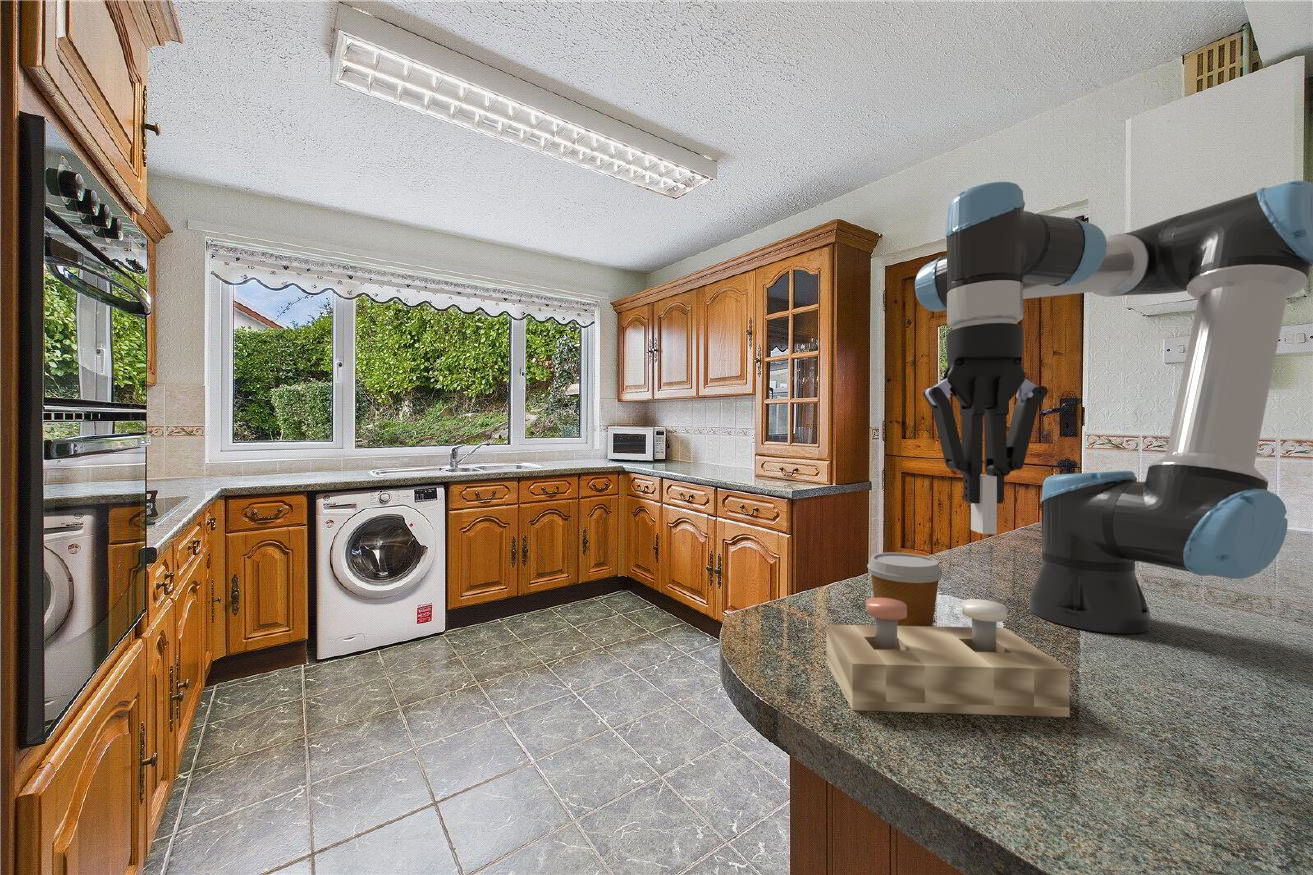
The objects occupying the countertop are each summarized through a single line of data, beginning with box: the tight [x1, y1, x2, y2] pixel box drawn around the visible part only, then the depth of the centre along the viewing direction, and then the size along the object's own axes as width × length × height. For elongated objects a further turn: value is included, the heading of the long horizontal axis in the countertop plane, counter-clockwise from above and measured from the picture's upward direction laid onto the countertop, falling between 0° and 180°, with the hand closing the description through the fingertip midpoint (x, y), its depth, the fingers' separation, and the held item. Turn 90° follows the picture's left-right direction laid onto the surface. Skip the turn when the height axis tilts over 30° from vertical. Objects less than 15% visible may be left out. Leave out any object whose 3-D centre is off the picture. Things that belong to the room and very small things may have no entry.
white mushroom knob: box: [961, 598, 1008, 651], centre depth 63 cm, size 4×4×5 cm
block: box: [825, 623, 1070, 718], centre depth 64 cm, size 22×12×5 cm, turn 86°
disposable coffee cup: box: [866, 552, 943, 627], centre depth 76 cm, size 10×10×12 cm
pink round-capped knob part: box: [865, 597, 907, 649], centre depth 64 cm, size 4×4×5 cm
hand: (983, 531), depth 63 cm, fingers closed
